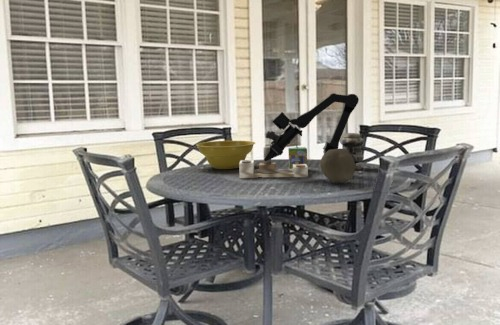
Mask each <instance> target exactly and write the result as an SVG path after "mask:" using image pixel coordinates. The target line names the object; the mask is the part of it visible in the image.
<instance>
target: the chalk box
mask: <svg viewBox="0 0 500 325" xmlns="http://www.w3.org/2000/svg"><path fill="white" fill-rule="evenodd" d="M294 143H295V146H296V147H288V169H293V164H306V165H307V167H308V168H309V166H308V148H307V147H305V146H304V147H303V146H301V147H300V146H298V144H297V142H296V141H294Z"/></svg>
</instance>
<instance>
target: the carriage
mask: <svg viewBox="0 0 500 325" xmlns="http://www.w3.org/2000/svg"><path fill="white" fill-rule="evenodd" d="M262 150H263V162H259V164H258V169H259V170H276V169H277V162H272V159H270V160H267V161H264V159H265V157H266V156H267V154H268V153H269V151H270V146H263V149H262Z"/></svg>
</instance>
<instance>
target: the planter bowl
mask: <svg viewBox="0 0 500 325" xmlns="http://www.w3.org/2000/svg"><path fill="white" fill-rule="evenodd" d="M254 145H256V142H255V141H251V140H215V141H213V140H212V141H205V142H200V143H196V144H195V146H197V148H198V150H199V152H200V153H201V154H202V155H203V156H204V157H205V159H206V161H207V162H208V164H209V165H210V167H212V168H213V169H215V170H216V169H217V170H232V169H237V168H239V163H240V161H241V160H246V158H247V155H249V153H251V152H252V150H253V148H254Z"/></svg>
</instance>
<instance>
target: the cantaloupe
mask: <svg viewBox="0 0 500 325" xmlns="http://www.w3.org/2000/svg"><path fill="white" fill-rule="evenodd" d="M320 168H321V171H322V174H323V175H324V177H326V178H327V179H328V180H329V181H330V182H332V183H335V184H339V185H340V184H345V183H347V182H350V181H351V180H352V178H353V177H354V173H355V171H356V170H355V162H354V160H353V158H352V155H351V154H350V153H349V152H348V151H346V150H344V149H342V148H338V149H332V150H329V151H327V152H326V153H325V154H324V153H323V155H322V157H321V158H320Z"/></svg>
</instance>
